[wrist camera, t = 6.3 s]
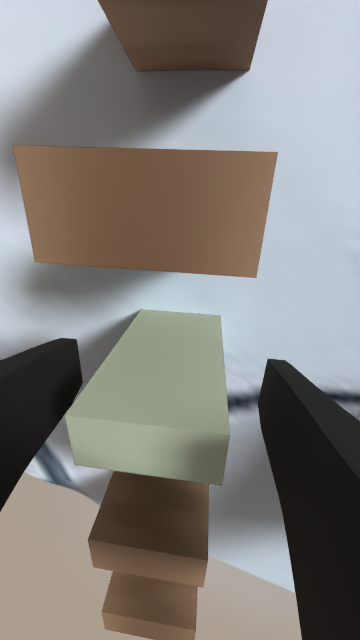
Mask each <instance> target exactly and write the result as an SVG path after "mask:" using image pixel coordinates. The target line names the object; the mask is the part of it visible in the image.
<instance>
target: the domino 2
mask: <svg viewBox="0 0 360 640" xmlns="http://www.w3.org/2000/svg"><path fill="white" fill-rule="evenodd" d="M65 419H66V424H67V429H68V434H69V439H70V444H71V449H72V454H73V459H74V464H75V465H78V466H85V467H92V468H99V469H106V470H114V471H121V472H128V473H135V474H142V475H149V476H157V477H164V478H171V479H178V480H185V481H192V482H200V483H207V484H214V485H221V486H222V482H223V476H224V469H225V463H226V457H227V450H228V444H229V437H230V430H229V418H228V405H227V392H226V380H225V367H224V354H223V341H222V329H221V316H220V315H207V314H193V313H180V312H167V311H154V310H140V312H139V313H138V315H137V316H136V317H135V319H134V320H133V322H132V323H131V324H130V326H129V327H128V328H127V330H126V331H125V333H124V334H123V335H122V337H121V338H120V339H119V341H118V342H117V344H116V345H115V346H114V348H113V349H112V351H111V352H110V353H109V355H108V356H107V357H106V359H105V360H104V362H103V363H102V364H101V366H100V367H99V368H98V370H97V371H96V373H95V374H94V375H93V377H92V378H91V380H90V381H89V382H88V384H87V385H86V386H85V388H84V389H83V391H82V392H81V393H80V395H79V396H78V397H77V399H76V400H75V402H74V403H73V404H72V406H71V407H70V409H69V410H68V411H67V413H66V414H65Z"/></svg>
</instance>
